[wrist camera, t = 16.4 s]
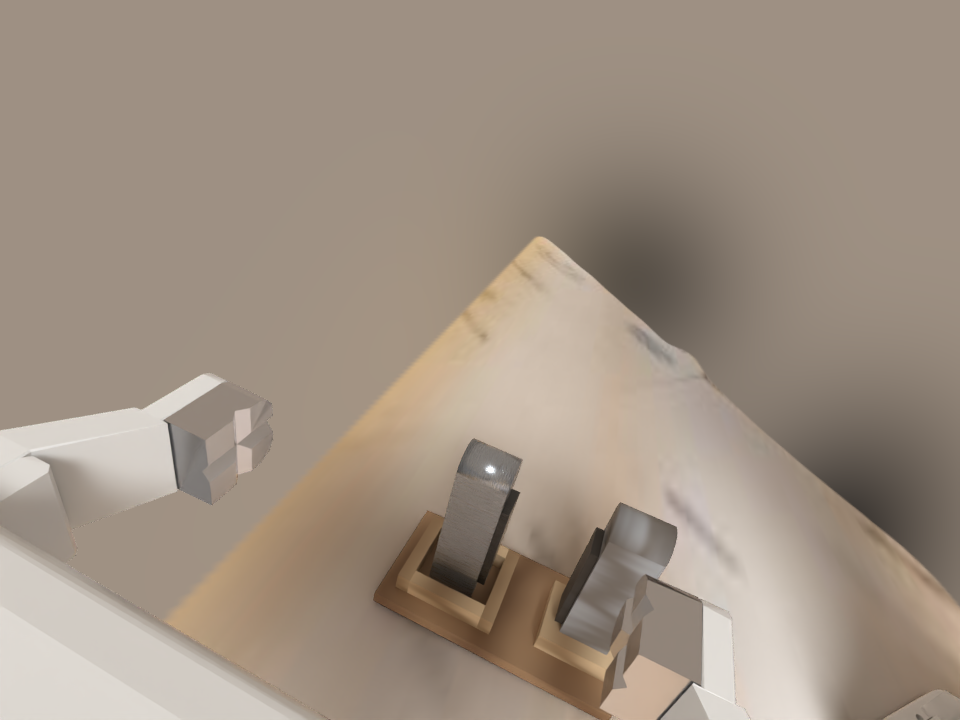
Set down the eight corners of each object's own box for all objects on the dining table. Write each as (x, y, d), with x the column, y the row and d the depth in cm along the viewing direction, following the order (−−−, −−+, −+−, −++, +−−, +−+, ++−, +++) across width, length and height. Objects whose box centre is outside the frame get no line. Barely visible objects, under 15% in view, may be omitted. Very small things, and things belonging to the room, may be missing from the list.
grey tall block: (490, 573, 43) (534, 454, 35) (476, 603, 40) (521, 483, 33) (443, 550, 43) (477, 430, 36) (428, 579, 41) (461, 456, 34)
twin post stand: (623, 612, 43) (700, 495, 36) (606, 723, 36) (698, 605, 28) (425, 517, 47) (456, 391, 39) (373, 600, 40) (397, 465, 32)
